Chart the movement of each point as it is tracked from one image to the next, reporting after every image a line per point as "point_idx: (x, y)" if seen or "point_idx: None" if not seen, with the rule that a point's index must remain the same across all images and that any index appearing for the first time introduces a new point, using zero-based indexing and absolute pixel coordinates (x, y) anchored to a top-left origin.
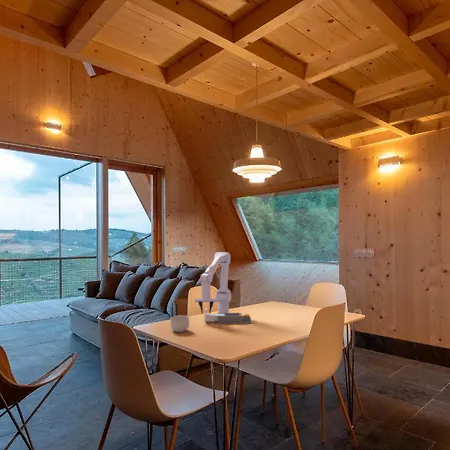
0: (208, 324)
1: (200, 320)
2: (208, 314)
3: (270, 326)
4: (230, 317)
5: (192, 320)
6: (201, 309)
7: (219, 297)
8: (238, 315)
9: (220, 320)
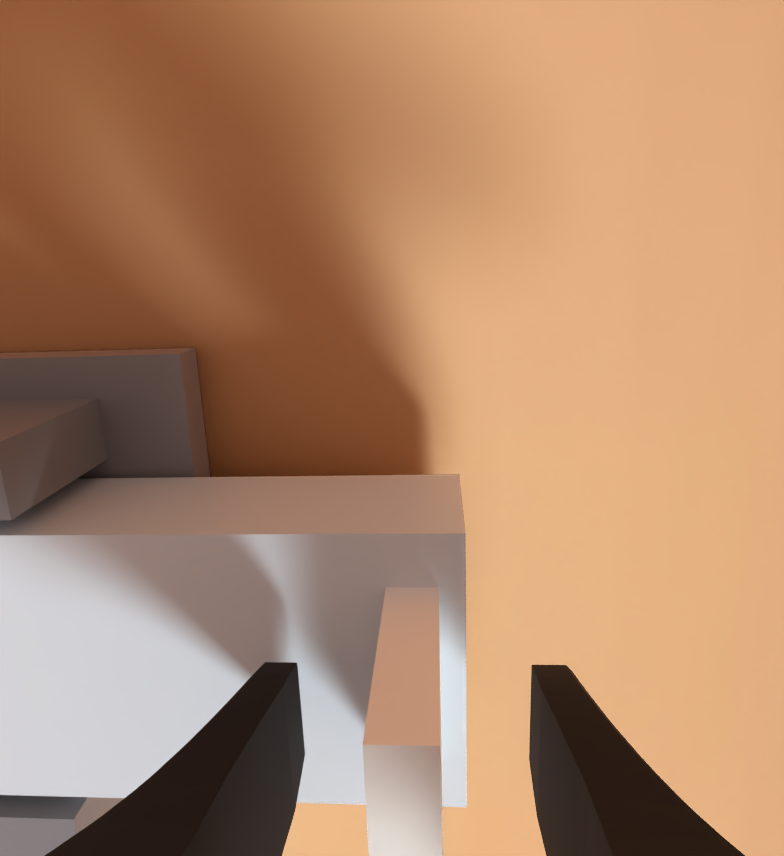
0: (352, 316)
1: None
2: (337, 730)
3: None
4: None
5: (743, 727)
6: (629, 765)
7: None
8: None
9: (8, 410)
